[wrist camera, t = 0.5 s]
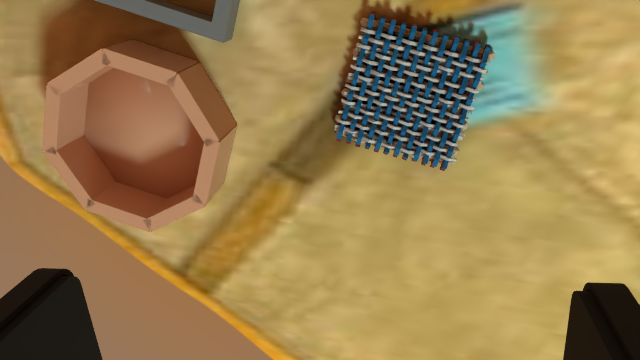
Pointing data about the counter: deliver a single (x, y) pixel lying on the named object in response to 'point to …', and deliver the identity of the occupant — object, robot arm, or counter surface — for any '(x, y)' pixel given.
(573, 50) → the counter surface
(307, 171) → the counter surface
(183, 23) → the gray square frame
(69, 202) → the counter surface
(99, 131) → the bowl
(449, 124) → the woven mat
